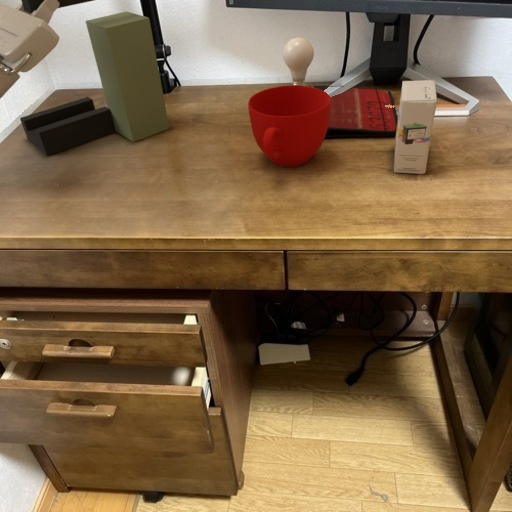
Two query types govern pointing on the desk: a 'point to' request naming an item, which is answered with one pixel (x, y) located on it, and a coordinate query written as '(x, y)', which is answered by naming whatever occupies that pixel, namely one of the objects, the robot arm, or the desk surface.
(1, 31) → the robot arm
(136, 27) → the stand
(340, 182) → the desk surface
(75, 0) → the pad strip
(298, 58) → the lightbulb
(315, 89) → the ceramic cup
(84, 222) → the desk surface
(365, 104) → the binder
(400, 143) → the ink box
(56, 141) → the dock pad
